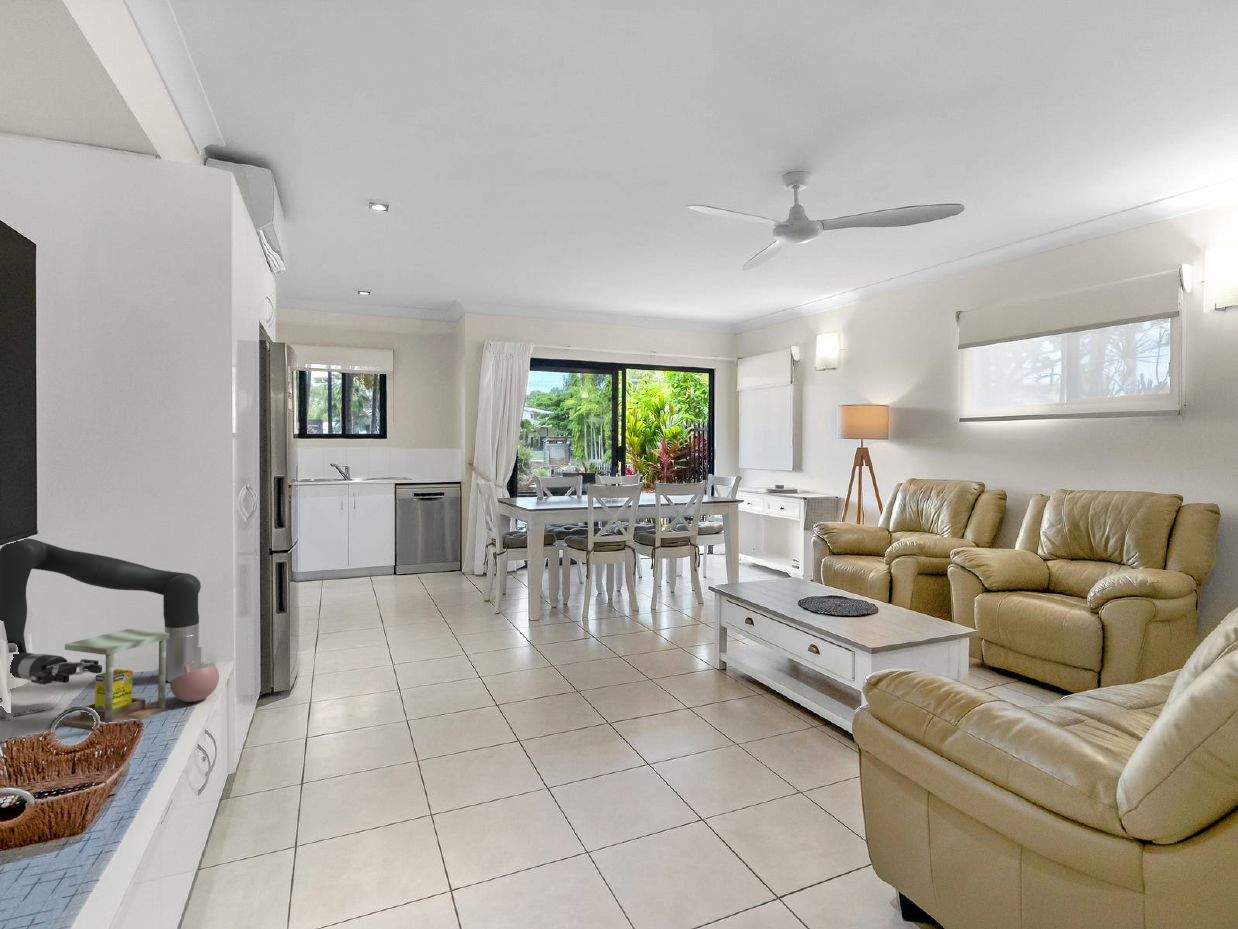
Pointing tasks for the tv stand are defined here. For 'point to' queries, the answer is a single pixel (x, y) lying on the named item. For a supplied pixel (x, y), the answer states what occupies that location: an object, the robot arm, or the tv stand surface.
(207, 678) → the mortar and pestle
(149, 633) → the small green table
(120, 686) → the supplement box
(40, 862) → the tv stand surface
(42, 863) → the tv stand surface
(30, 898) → the tv stand surface
